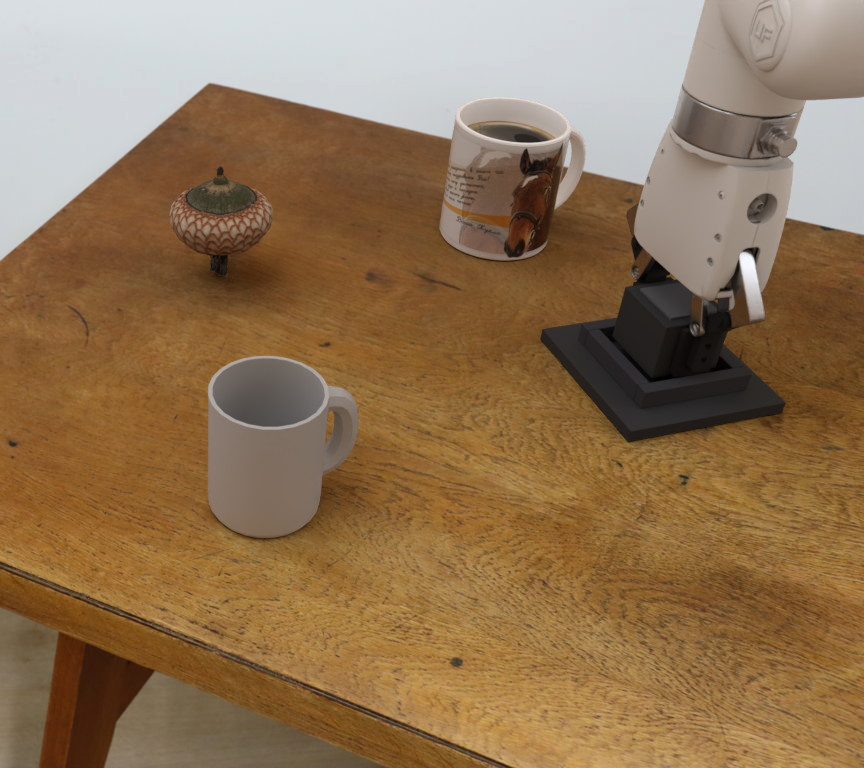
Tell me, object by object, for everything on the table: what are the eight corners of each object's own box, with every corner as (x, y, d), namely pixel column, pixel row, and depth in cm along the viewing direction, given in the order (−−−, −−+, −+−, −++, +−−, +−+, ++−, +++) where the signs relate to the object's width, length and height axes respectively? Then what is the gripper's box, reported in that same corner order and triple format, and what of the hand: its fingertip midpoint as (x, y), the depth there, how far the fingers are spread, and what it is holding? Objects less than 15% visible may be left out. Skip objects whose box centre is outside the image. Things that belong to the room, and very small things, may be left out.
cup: (190, 480, 72) (189, 371, 67) (326, 443, 76) (336, 336, 71) (234, 554, 67) (236, 442, 62) (378, 510, 71) (392, 400, 66)
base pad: (782, 413, 81) (793, 385, 80) (627, 442, 78) (636, 414, 76) (681, 317, 91) (689, 291, 89) (539, 339, 87) (545, 312, 86)
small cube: (715, 367, 82) (734, 314, 79) (651, 379, 80) (667, 325, 77) (673, 326, 86) (689, 274, 83) (611, 336, 84) (625, 284, 81)
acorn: (289, 284, 92) (295, 175, 86) (204, 313, 88) (205, 201, 82) (234, 241, 97) (236, 135, 91) (152, 267, 93) (148, 158, 87)
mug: (444, 198, 106) (460, 87, 99) (571, 215, 104) (596, 103, 97) (434, 252, 97) (451, 135, 91) (572, 272, 96) (600, 154, 89)
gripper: (873, 174, 66) (779, 410, 77) (705, 67, 79) (645, 282, 90) (769, 186, 64) (687, 427, 75) (614, 75, 77) (563, 294, 88)
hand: (664, 346), depth 83 cm, fingers closed on small cube, 5 cm apart
